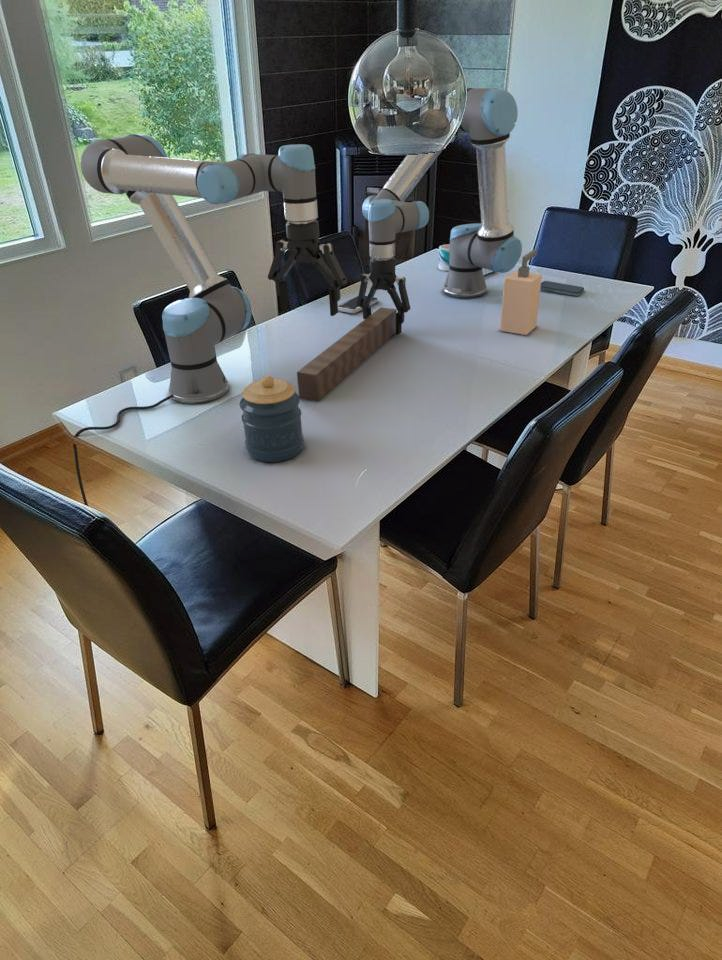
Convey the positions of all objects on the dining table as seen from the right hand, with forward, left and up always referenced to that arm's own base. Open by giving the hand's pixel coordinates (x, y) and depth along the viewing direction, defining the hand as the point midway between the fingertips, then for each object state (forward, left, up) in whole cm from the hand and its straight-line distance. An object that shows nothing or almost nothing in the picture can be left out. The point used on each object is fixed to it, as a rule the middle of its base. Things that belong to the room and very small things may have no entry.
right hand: (383, 331), depth 207 cm
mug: (-75, -21, -1) cm, 78 cm away
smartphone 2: (-68, +28, -1) cm, 74 cm away
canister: (+71, +20, -1) cm, 74 cm away
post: (+22, +5, -1) cm, 22 cm away
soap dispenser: (-28, +32, -1) cm, 43 cm away
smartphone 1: (-17, -24, -1) cm, 29 cm away
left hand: (+42, +8, +20) cm, 47 cm away
